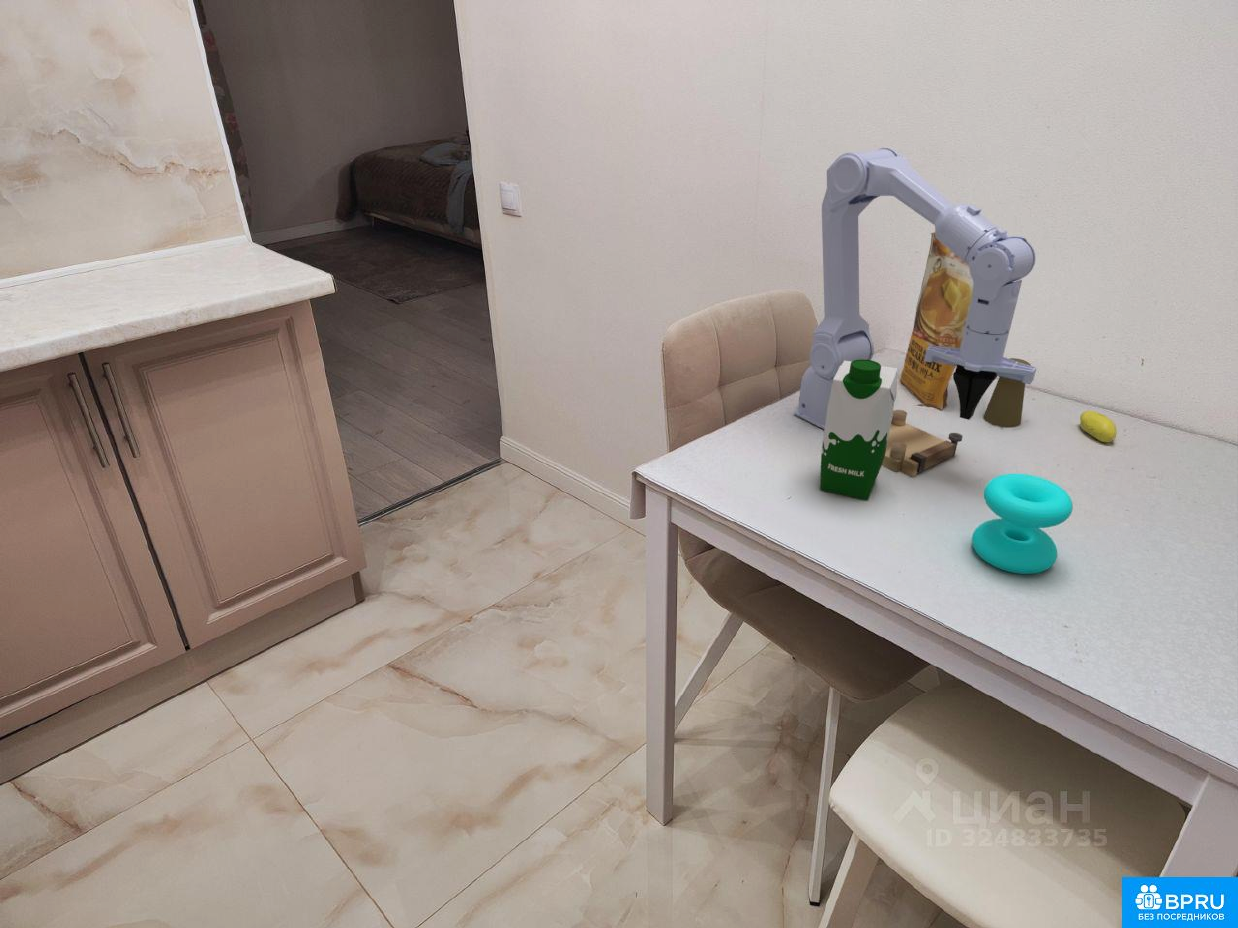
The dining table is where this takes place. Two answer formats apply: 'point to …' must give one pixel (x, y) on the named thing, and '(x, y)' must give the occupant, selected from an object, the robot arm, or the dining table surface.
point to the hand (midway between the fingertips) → (966, 416)
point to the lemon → (1098, 426)
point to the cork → (1006, 402)
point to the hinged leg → (933, 455)
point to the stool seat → (909, 444)
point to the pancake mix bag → (937, 323)
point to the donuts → (1021, 523)
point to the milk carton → (857, 427)
